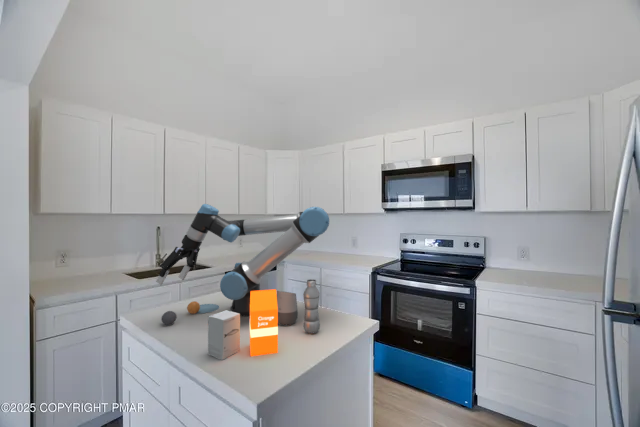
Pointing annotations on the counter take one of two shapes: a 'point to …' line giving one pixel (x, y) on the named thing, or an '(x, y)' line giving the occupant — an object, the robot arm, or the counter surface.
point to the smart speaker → (287, 308)
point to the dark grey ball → (169, 318)
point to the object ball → (193, 307)
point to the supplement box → (223, 334)
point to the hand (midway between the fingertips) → (170, 280)
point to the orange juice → (263, 322)
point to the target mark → (207, 308)
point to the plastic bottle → (311, 307)
